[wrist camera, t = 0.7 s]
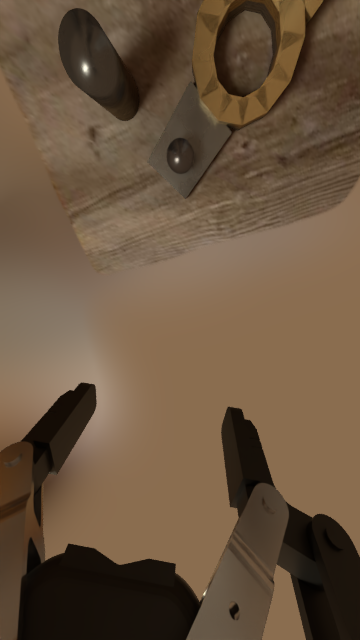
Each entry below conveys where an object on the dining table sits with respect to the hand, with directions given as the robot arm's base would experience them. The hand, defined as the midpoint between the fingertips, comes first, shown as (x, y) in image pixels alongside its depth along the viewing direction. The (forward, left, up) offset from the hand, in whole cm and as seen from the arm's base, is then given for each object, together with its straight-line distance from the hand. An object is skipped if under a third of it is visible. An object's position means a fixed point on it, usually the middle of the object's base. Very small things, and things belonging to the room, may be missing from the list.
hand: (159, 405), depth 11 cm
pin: (-18, +10, -26) cm, 33 cm away
